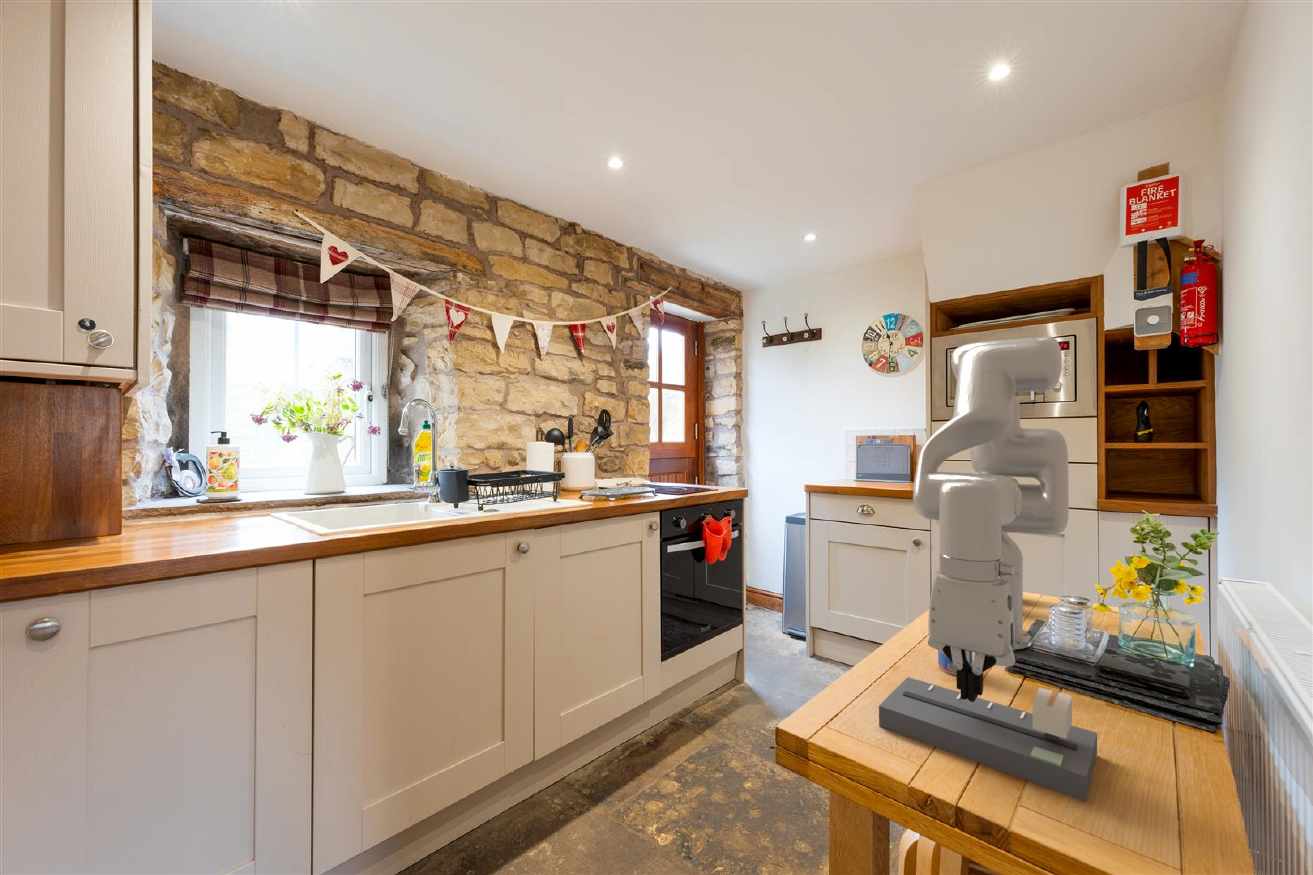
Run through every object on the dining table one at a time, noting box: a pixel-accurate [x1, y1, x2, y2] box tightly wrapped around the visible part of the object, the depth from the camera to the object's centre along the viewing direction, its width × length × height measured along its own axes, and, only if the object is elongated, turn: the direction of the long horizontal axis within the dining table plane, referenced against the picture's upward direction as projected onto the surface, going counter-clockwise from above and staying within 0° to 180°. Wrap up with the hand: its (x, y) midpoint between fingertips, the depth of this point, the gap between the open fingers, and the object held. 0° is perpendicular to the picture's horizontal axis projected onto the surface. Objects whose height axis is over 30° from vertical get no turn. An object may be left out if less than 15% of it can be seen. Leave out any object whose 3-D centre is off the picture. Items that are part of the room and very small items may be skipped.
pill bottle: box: [937, 650, 974, 676], centre depth 98 cm, size 6×5×10 cm
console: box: [878, 676, 1098, 803], centre depth 76 cm, size 12×24×3 cm, turn 47°
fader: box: [1032, 687, 1073, 741], centre depth 71 cm, size 5×4×5 cm
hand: (969, 696), depth 77 cm, fingers closed
